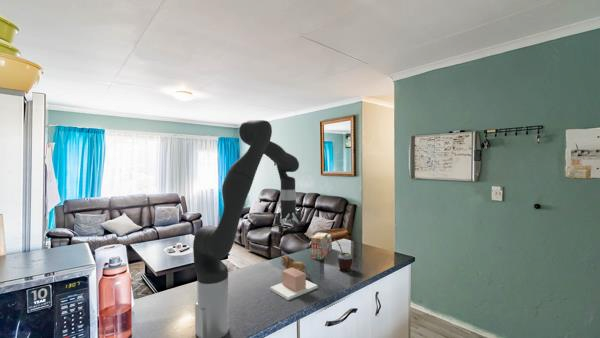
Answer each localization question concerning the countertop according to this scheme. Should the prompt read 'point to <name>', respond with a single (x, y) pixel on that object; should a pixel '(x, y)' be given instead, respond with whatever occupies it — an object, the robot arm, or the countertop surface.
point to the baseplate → (291, 294)
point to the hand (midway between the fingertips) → (288, 232)
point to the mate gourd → (344, 260)
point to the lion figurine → (293, 264)
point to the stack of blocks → (320, 245)
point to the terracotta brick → (294, 279)
